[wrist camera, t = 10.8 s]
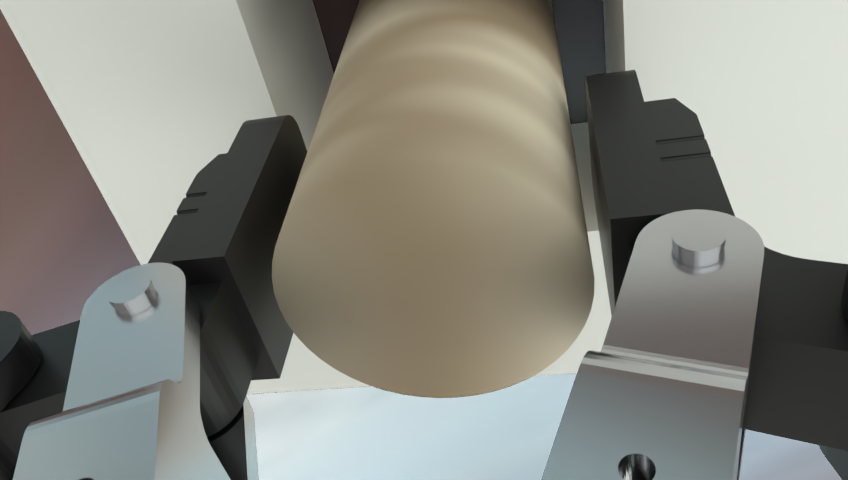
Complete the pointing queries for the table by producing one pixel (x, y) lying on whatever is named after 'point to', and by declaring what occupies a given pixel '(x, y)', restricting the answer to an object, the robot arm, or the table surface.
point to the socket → (312, 75)
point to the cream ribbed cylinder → (440, 203)
